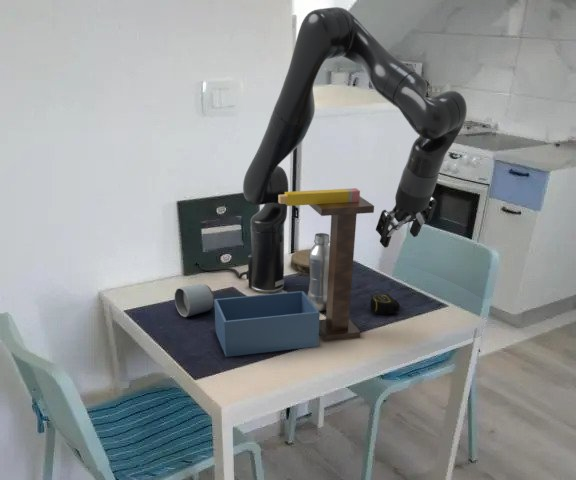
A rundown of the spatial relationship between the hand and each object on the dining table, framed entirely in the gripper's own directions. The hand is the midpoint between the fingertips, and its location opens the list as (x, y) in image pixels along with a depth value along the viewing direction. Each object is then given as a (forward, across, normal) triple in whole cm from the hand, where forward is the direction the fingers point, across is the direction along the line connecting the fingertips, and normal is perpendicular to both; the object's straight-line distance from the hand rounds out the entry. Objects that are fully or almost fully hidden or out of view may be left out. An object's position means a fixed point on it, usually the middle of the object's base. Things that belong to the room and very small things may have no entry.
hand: (398, 239), depth 146 cm
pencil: (-10, +18, -9) cm, 23 cm away
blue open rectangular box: (+18, +35, +1) cm, 39 cm away
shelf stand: (+19, +19, +6) cm, 27 cm away
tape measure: (+24, 0, +3) cm, 24 cm away
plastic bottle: (+25, +14, -6) cm, 30 cm away
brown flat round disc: (+40, -2, -30) cm, 50 cm away
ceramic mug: (+27, +45, -20) cm, 56 cm away
